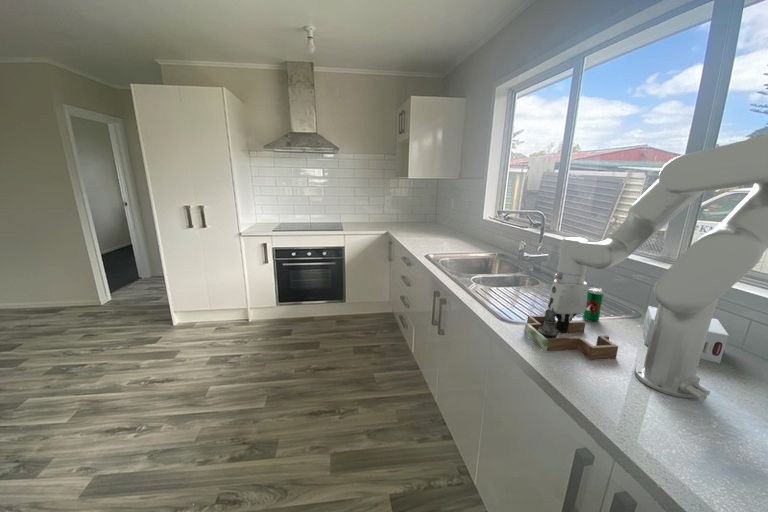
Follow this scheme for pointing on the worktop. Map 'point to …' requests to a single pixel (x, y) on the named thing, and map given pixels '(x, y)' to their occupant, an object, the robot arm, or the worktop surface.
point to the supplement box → (712, 343)
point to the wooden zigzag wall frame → (570, 340)
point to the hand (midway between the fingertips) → (561, 330)
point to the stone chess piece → (549, 325)
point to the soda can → (593, 304)
